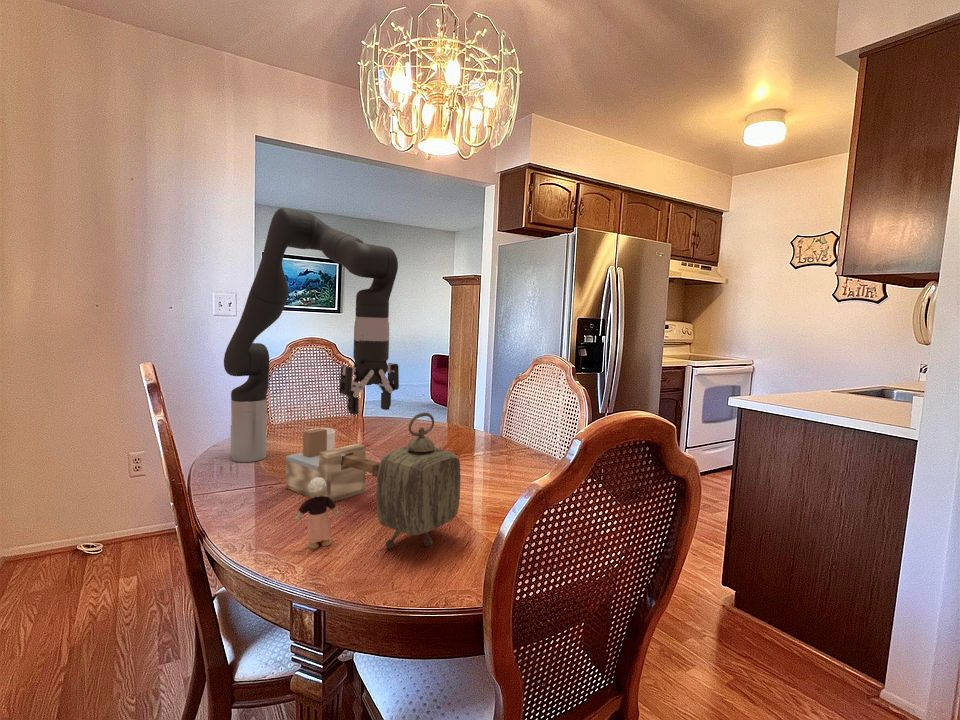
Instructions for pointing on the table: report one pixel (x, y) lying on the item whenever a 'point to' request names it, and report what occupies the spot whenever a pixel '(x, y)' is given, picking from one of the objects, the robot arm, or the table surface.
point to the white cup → (329, 437)
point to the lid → (311, 449)
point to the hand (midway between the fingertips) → (369, 411)
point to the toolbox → (330, 474)
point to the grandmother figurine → (317, 514)
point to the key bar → (361, 464)
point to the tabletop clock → (417, 487)
